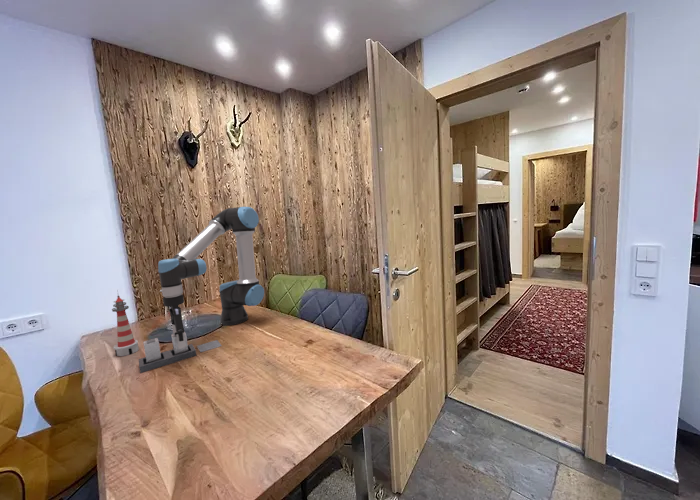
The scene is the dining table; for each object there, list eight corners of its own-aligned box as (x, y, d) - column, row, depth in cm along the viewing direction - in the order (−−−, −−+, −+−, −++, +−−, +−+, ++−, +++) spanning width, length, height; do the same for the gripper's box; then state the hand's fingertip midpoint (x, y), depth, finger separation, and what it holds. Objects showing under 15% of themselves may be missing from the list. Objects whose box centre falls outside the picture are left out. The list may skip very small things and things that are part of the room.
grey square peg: (187, 352, 130) (184, 330, 129) (189, 355, 127) (186, 333, 125) (174, 356, 127) (171, 333, 126) (176, 360, 124) (172, 336, 122)
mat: (217, 341, 142) (217, 339, 142) (222, 346, 135) (221, 345, 135) (196, 347, 136) (196, 345, 136) (200, 353, 129) (200, 352, 129)
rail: (192, 349, 134) (191, 343, 133) (196, 356, 127) (195, 350, 126) (139, 365, 122) (138, 359, 121) (140, 374, 114) (139, 367, 114)
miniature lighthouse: (118, 358, 130) (106, 293, 126) (112, 354, 135) (101, 291, 132) (142, 350, 137) (132, 288, 133) (135, 346, 143) (125, 286, 139)
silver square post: (161, 360, 124) (157, 337, 123) (162, 364, 121) (158, 340, 119) (146, 364, 121) (143, 340, 120) (147, 368, 118) (143, 344, 116)
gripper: (159, 292, 131) (166, 337, 134) (165, 303, 112) (173, 355, 114) (178, 288, 136) (184, 332, 138) (187, 298, 116) (194, 349, 119)
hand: (179, 343), depth 126 cm, fingers open, 13 cm apart
